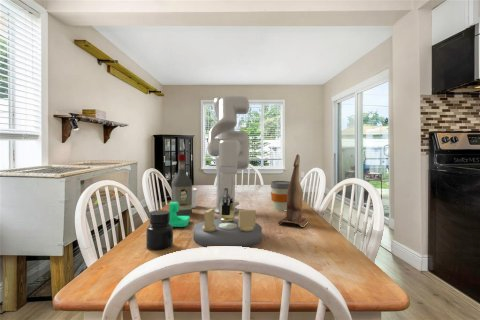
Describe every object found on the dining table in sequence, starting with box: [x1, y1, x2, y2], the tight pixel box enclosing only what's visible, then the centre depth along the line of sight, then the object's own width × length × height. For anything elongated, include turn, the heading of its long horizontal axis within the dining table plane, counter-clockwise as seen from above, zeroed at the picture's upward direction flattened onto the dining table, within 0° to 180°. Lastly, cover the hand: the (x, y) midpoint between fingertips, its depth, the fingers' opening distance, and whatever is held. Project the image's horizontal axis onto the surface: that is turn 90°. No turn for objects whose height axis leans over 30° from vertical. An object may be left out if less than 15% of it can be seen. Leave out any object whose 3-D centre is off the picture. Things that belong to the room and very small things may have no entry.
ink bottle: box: [145, 209, 174, 251], centre depth 104 cm, size 10×9×12 cm
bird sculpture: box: [277, 154, 309, 227], centre depth 133 cm, size 11×12×32 cm
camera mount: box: [168, 201, 191, 228], centre depth 130 cm, size 12×8×10 cm, turn 0°
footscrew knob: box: [219, 203, 236, 223], centre depth 122 cm, size 6×5×7 cm
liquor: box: [171, 153, 193, 216], centre depth 149 cm, size 9×9×30 cm
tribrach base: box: [193, 208, 263, 248], centre depth 114 cm, size 26×26×12 cm
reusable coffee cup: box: [270, 180, 290, 212], centre depth 163 cm, size 13×12×15 cm
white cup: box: [192, 187, 198, 209], centre depth 166 cm, size 8×8×10 cm
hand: (227, 212), depth 122 cm, fingers open, 8 cm apart
